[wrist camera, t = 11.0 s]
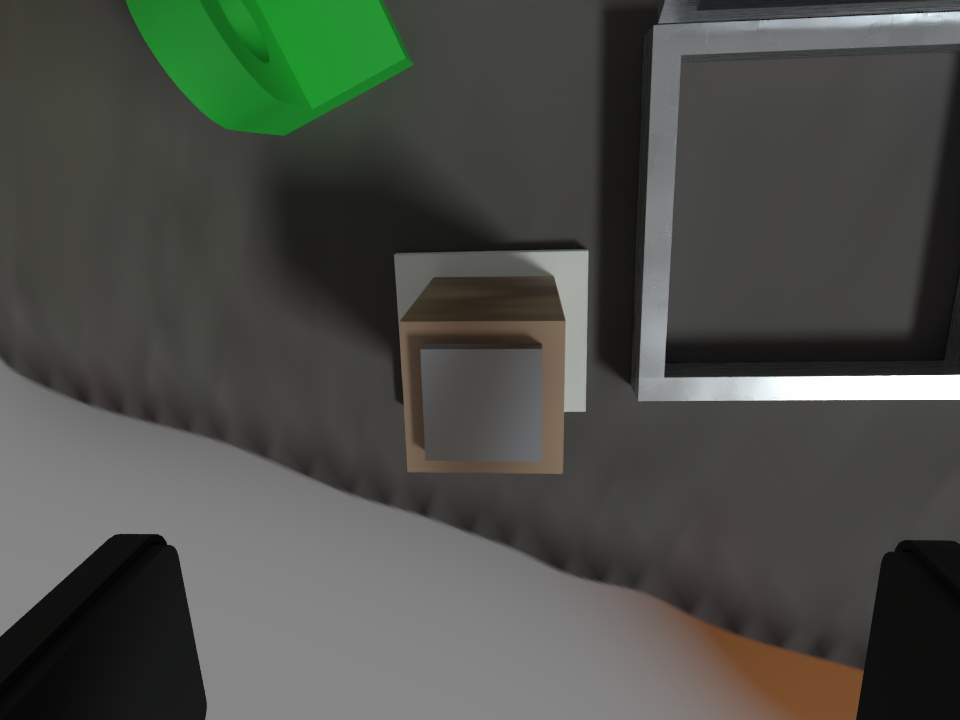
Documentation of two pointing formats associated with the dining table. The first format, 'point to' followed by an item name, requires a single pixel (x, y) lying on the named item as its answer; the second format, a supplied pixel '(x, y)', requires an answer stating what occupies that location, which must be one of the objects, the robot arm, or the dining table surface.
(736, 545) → the dining table surface
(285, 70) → the mechanical part
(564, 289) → the mat
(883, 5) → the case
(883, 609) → the robot arm
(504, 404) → the block
